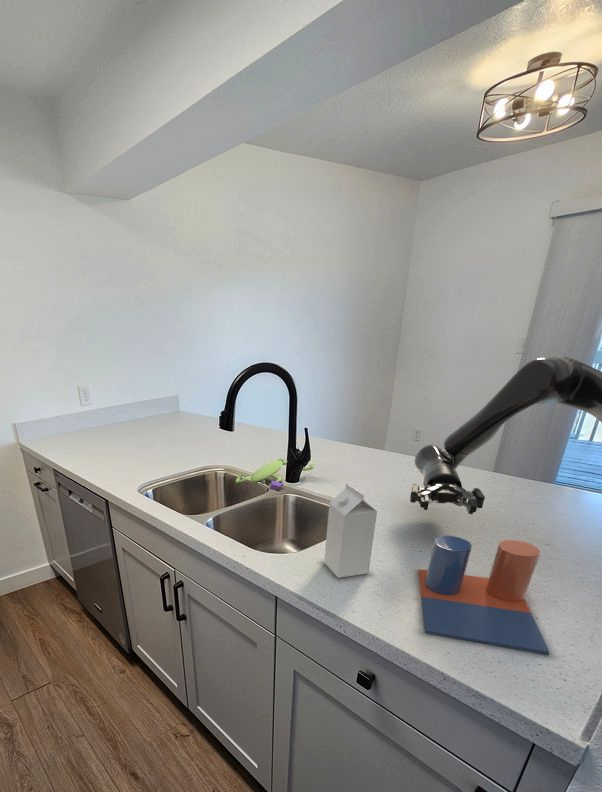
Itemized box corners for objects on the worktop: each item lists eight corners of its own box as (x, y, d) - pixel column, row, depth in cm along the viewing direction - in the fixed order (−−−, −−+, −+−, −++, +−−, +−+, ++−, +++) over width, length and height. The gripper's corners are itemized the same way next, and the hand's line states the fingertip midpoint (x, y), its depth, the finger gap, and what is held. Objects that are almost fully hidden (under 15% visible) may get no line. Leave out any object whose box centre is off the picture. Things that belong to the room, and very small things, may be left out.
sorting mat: (516, 584, 88) (516, 581, 88) (548, 654, 70) (549, 652, 70) (418, 571, 95) (419, 569, 95) (425, 633, 77) (425, 630, 76)
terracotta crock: (520, 586, 87) (535, 542, 82) (528, 604, 81) (545, 558, 77) (483, 581, 89) (495, 538, 84) (489, 598, 84) (502, 553, 79)
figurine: (321, 477, 153) (322, 461, 151) (268, 496, 139) (268, 480, 137) (281, 466, 167) (282, 452, 164) (229, 483, 152) (229, 467, 150)
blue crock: (458, 580, 90) (469, 537, 85) (462, 597, 84) (474, 552, 80) (423, 576, 92) (432, 534, 87) (425, 592, 87) (435, 548, 82)
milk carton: (352, 558, 101) (362, 481, 93) (368, 574, 95) (380, 492, 86) (323, 563, 100) (330, 485, 92) (338, 578, 94) (346, 496, 85)
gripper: (411, 465, 106) (414, 488, 92) (479, 469, 101) (492, 494, 87) (406, 494, 109) (408, 520, 96) (471, 499, 104) (483, 527, 91)
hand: (448, 507), depth 92 cm, fingers open, 8 cm apart
